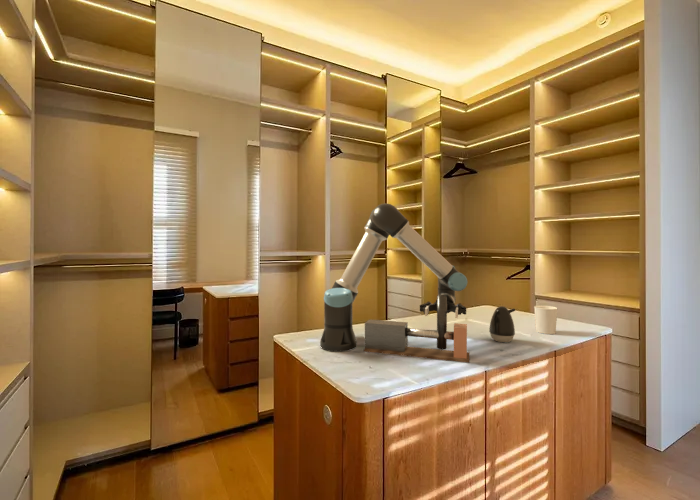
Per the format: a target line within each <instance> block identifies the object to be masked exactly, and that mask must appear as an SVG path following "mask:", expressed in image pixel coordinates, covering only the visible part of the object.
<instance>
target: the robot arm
mask: <svg viewBox="0 0 700 500" xmlns="http://www.w3.org/2000/svg"><path fill="white" fill-rule="evenodd" d="M363 228H364V231H365V232H364V234H363V236H362V238H361V240H360V242H359V244H358V245H357V248H356V249H355V251H354V253H353V255H352V256H351V258H350V260H349V262H348V264H347V266H346V268H345V270H344V271H343V273H342V275H341V277H340V278H339V279H336V280H335V282H334V284H333V285H332V287H331V288H330V289H326V290H325V291H324V296H323V301H324V305H323V307H324V309H323V310H324V314H323V315H324V319H323V322H324V324H323V325H324V329H323V330H322V331H323V332H322V334H321V337H320V342H319V344H320V345H319V346H321V347H322V348H324V349H326V350H325V351H328V350H330V352H347V351H351V350H354V349H356V348H357V346H358V345H357V344H358V342H357V337H356V335H355V331H354V329H353V304H354V302H355V300H356V298H357V296H358V295H359V289H358V286H359V285H360V283H361V282H362V279H363V277H364V276H365V274H366V273H367V270H368V268H369V266H370V265H371V263H372V260H373V259H374V257H375V255H376V254H377V252H378V250H379V248H380V246H381V245H382V242H383V241H387V240H388V238H389V236H390V237H391V238H392V239H397V240H398V241H399V243H401V244H402V245H403V246H404V247H405V248H406V249H408V251H410V252H411V254H413V255H414V257H415V258H417V259H418V260H420V262H421V263H422V264H424V265H425V266H426V267H427V268H428V269H429V270H430V271H431V272H432V273H433V274H434V275H435V276H436V277H437V295H447V314H449V313H455V319H458V318H459V316H461V315H464V316H465V315H467V307H466V306H464V305H463V304H462V303H461V302H459V303H456V292H462V291H463V290H465V289H466V287H467V285H468V279H467V277H466V275H465V274H464V273H462V272H460V271H459V270H457V269H456V267H455V265H452V264H451V262H449V261H448V260H447V259H446V258H445V257H444V256H442V254H441V253H440V252H438V251H437V250H436V248H434V247H433V246H432V244H430V243H429V242H428V241H427V240H426V239H425V238H424V237H423V236H422V235H421V234H419V232H417V231H416V230H415V229H414V228H413V227H412V226H411V225H410V221H409V220H408V219H407V217H405V216H404V215H403V213H401V211H399V209H398V208H397V207H396V206H395V205H392V204H391V203H385V202H384V203H380V204H378V205H377V206H376V207H375V208H374V209H373V210H372V211H371V213H370V215H369V218H368V220H367V221H366V224H365V225H364V227H363ZM455 303H456V304H455ZM435 311H436V312H437V299H436V300H435V301H434V303H432V302H431V301H427V302H425V303H424V302H423V303H422V304H420V305H419V312H420V313H423V314H424V316H425V317H428V316H429V313H430V312H435ZM321 347H320V348H321ZM322 348H321V349H322ZM324 349H323V350H324Z"/></svg>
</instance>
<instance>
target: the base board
mask: <svg viewBox="0 0 700 500" xmlns="http://www.w3.org/2000/svg"><path fill="white" fill-rule="evenodd" d="M363 352H364V353H375V354H382V355H383V354H385V355H392V356H393V355H394V356H401V357H402V356H403V357H413V358H423V359H431V360H440V361H441V360H442V361H451V362H458V363H459V362H461V363H469V364H470V363H471V362H470V361H471V360H470V356H471V355H470V351H467V359H465V358H455V357H454V350H449V349H438V348H427V347H418V346H417V347H416V346H408V347H407V349H406V351H405V352H398V351H388V350H378V349H368V348H365V347H364V348H363Z"/></svg>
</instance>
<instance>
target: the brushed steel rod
mask: <svg viewBox="0 0 700 500" xmlns="http://www.w3.org/2000/svg"><path fill="white" fill-rule="evenodd" d="M436 300H437V311H436V330H435V329H424V328H423V329H422V328H421V329H420V328H410V327H408V328H405V336H408V337H415V338H426V339H436V349H440V350H448V349H447V348H448V347H447V345H448V343H447V340H449V341H454V331H450V330H448V329H447V328H448V327H447V326H448V324H447V323H448V321H447V320H448V317H447V316H448V313H447V295H438V294H437V296H436Z"/></svg>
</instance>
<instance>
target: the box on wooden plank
mask: <svg viewBox="0 0 700 500" xmlns="http://www.w3.org/2000/svg"><path fill="white" fill-rule="evenodd" d="M408 325H409V324H408V322H407V321H396V320H381V319H368V320H367V321H365V322H364V348H368V349H378V350H388V351H398V352H405V351H406V349H407V347H409V344H408V343H409V341H408V337H409V336H405V328H409V327H408Z"/></svg>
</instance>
